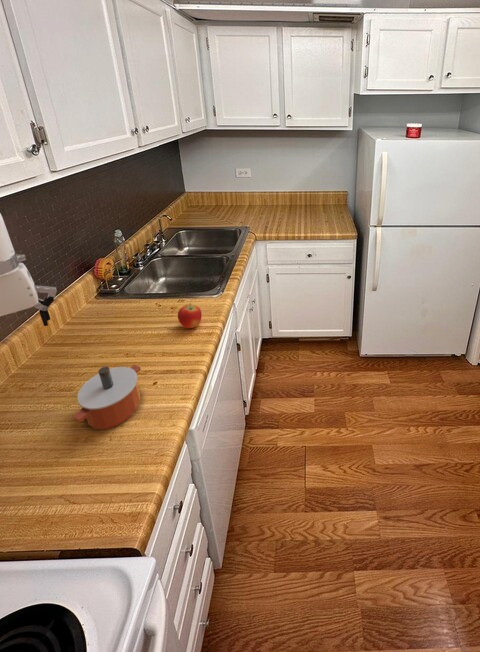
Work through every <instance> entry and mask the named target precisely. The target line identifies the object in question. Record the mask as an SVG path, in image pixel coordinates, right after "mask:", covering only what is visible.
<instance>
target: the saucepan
mask: <svg viewBox="0 0 480 652" xmlns="http://www.w3.org/2000/svg"><path fill="white" fill-rule="evenodd" d="M130 368H131V369H133V370H134V371H135V372H136V373H137V374H138V373H139V372H140V371H141V370H142V369H141V366H139V365H136V364H133V365H132V366H130ZM140 404H141V393H140V388H139V385H138V382H137V383H136V386H135V387H134V389H133V390H132V391H131V393H130V394H129V395H127V396H126V397H125V398H124V399H122V400H121V401H119V402H118V403H116V404H114V405H111V406H109V407H106V408H102V409H97V410H89V409H85V408H83V407H81V409H80V410H78V411H77V412H76V413H75V414H73V416H72V419H73V420H74V421H76V422H79V423H82V422H83V421H84V420H86V422H87V424H88V426H90V427H91V428H92V429H95V430H108V429H111V428H114V427H117V426H119V425H121V424H124V423H125V422H126V421H127V420H129V418H131V417H132V416H133V415H134V414H135V413H136V411H137V410H138V409H139V407H140Z"/></svg>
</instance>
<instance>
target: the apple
mask: <svg viewBox="0 0 480 652" xmlns="http://www.w3.org/2000/svg"><path fill="white" fill-rule="evenodd" d="M202 317H203V316H202V309H201V307H200V306H198V305H197V304H193V303H192V302H190V303H189V304H185V305H183V306H181V308H179V310H178V312H177V319H178V322H179V324H180V325H181V326H182V327H183V328H185V329H194V328H196V327H197V326H198V325H199V324H200V323H201V320H202Z"/></svg>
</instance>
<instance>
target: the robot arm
mask: <svg viewBox="0 0 480 652" xmlns="http://www.w3.org/2000/svg"><path fill="white" fill-rule="evenodd" d="M26 260H27V257H26V254H25V253H23V254H18V253H16V251H15V248H14V246H13V244H12V241H11V237H10V234H9V231H8V229H7V226H6V224H5V220H4V218H3V216H2V213H1V212H0V317H4V316H7V315H10V314H14V313H18V312H21V311H24V310H28V309H31V308H35V309H37V310H39V315H40V318H41V321H42V324H43V326H44V327H48V326H49V322H48V321H50V320H52V319H51V316H50V312H49V310H48V309H49V307H50V306H51V305H52V304H53V302H54V301H55V298H56V295H57V292H58V290H57V287H56V286H47V285H37V284H35V281H34V279H33V278H32V275H31V273H30V271H29V270H28V267H26V265H25V264H24V263H23V261H26ZM39 294H47V296H46V297H45V299H41V298H39Z"/></svg>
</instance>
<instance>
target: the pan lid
mask: <svg viewBox="0 0 480 652" xmlns="http://www.w3.org/2000/svg"><path fill="white" fill-rule="evenodd" d="M138 380H139V379H138V372H137V373H136V372H135V371H134V370H133V369H131V367H128V366H115V367H109V366H102V367H100V369H98V371H97V373H96V374H95V375H93V376H92V377H90V378H89V379H88V380H87V381H86V382H84V384H83V385H82V386H81V387H80V390H79V391H78V393H77V403H78V405H79V406H80V407H81V408H82V407H83V408H85V409H89V410H97V409H102V408H106V407H109V406H111V405H114V404H116V403H118V402H119V401H121V400H122V399H124V398H125V397H126V396H127V395H129V394H130V393H131V391H132V390H133V389H134V387H135V386H136V383H137V384H138Z"/></svg>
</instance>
